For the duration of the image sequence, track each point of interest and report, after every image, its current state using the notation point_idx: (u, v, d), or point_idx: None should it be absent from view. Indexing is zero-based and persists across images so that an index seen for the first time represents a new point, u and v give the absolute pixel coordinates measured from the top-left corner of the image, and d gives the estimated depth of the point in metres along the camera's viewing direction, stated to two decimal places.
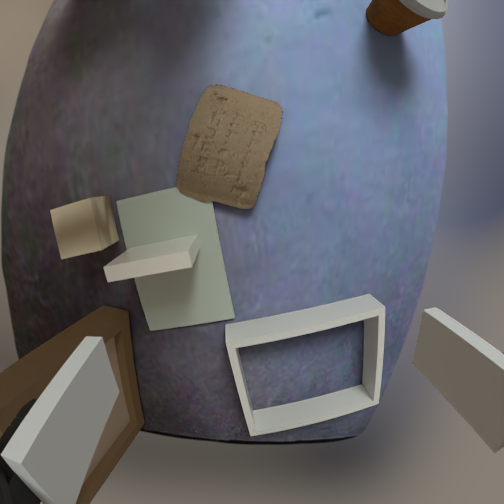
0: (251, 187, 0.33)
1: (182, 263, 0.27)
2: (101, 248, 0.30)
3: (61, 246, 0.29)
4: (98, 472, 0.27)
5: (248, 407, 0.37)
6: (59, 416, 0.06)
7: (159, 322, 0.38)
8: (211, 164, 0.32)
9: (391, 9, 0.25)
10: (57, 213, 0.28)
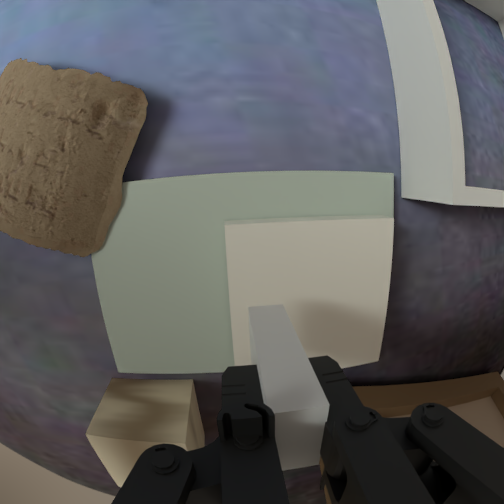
0: (97, 94, 0.12)
1: None
2: (182, 442, 0.13)
3: None
4: None
5: None
6: None
7: None
8: (41, 178, 0.12)
9: None
10: (122, 480, 0.13)
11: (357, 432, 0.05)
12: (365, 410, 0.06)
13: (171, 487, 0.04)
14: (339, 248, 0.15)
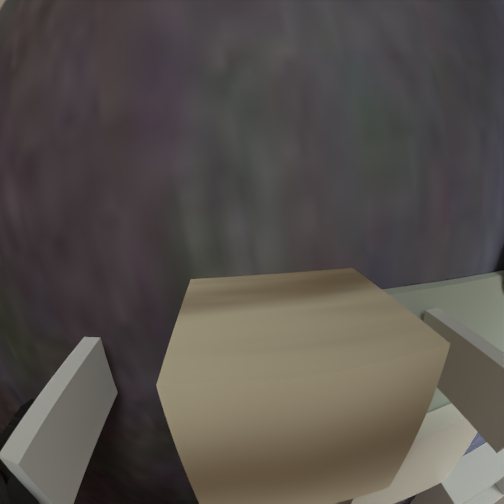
0: None
1: None
2: (388, 483, 0.07)
3: (216, 499, 0.06)
4: None
5: None
6: (56, 417, 0.06)
7: None
8: None
9: None
10: (216, 409, 0.05)
11: None
12: None
13: None
14: (446, 465, 0.13)
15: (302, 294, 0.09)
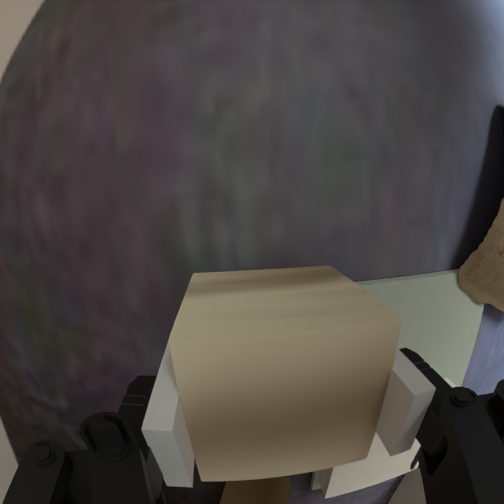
0: None
1: None
2: (365, 454, 0.08)
3: (211, 458, 0.07)
4: None
5: None
6: None
7: None
8: None
9: None
10: (213, 361, 0.07)
11: (460, 408, 0.05)
12: (466, 391, 0.06)
13: (49, 477, 0.04)
14: None
15: (285, 283, 0.11)
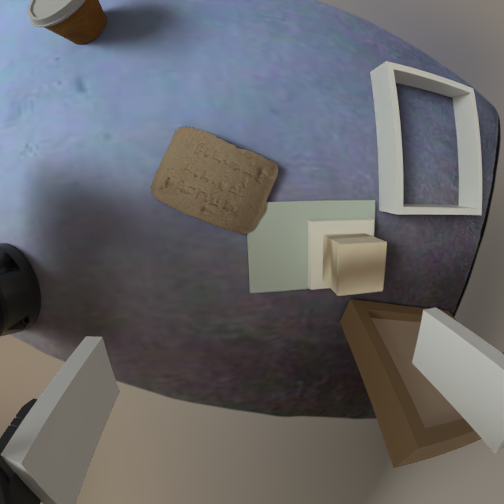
0: (259, 164, 0.34)
1: None
2: (382, 289, 0.33)
3: (343, 283, 0.32)
4: None
5: (456, 209, 0.35)
6: (59, 416, 0.06)
7: None
8: (232, 198, 0.35)
9: (81, 20, 0.23)
10: (348, 249, 0.31)
11: None
12: None
13: None
14: (352, 231, 0.37)
15: (355, 236, 0.35)
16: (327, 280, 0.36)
